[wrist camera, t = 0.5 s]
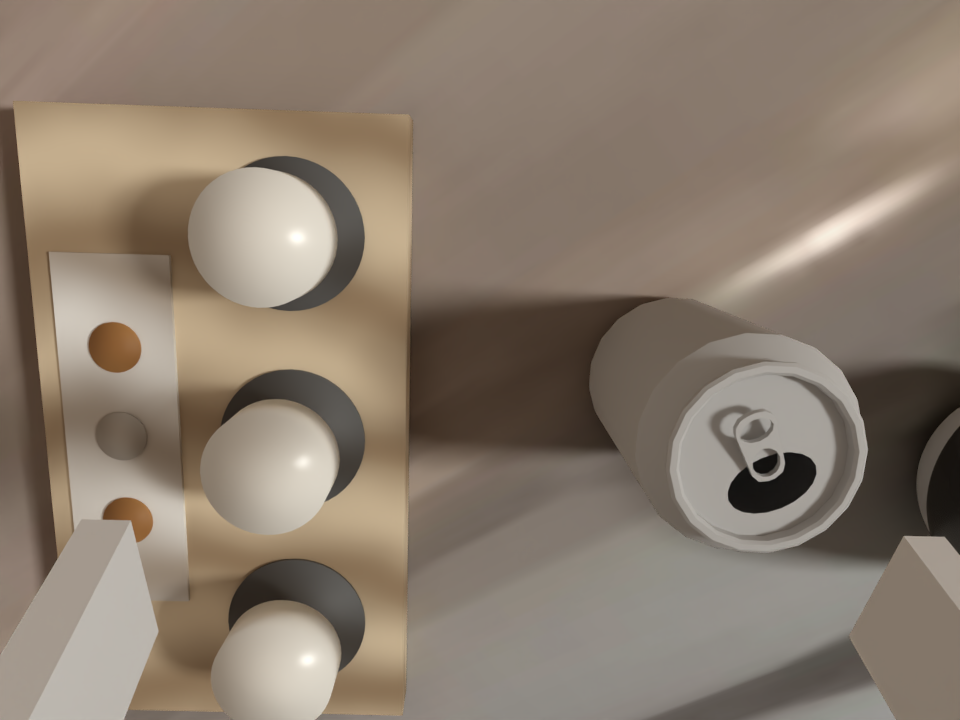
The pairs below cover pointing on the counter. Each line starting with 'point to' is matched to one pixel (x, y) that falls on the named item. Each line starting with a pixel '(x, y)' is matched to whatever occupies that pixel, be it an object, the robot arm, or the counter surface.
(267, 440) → the button
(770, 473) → the can
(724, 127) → the counter surface
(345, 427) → the button board
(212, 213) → the button
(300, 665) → the button
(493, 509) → the counter surface
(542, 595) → the counter surface
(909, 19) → the counter surface
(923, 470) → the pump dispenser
